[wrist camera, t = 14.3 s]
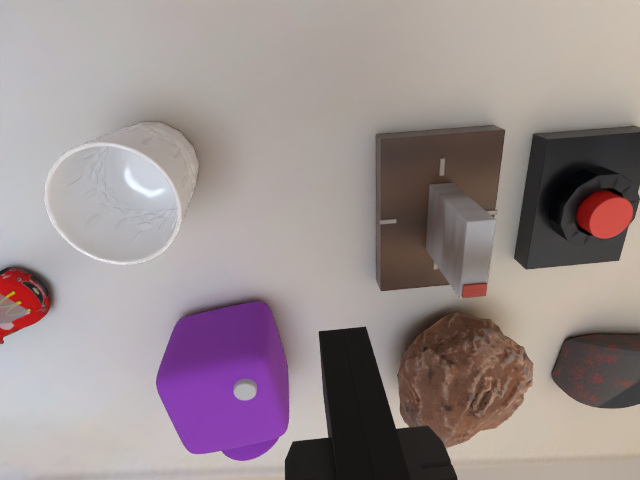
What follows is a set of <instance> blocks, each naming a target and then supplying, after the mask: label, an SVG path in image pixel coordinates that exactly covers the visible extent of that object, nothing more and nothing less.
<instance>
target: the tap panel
mask: <svg viewBox="0 0 640 480" xmlns="http://www.w3.org/2000/svg"><path fill="white" fill-rule="evenodd" d="M504 135H505V130H504V129H502V128H499V127H497V126H494V125H491V126H478V127H465V128H452V129H439V130H426V131H413V132H400V133H387V134H377V135H376V280H377V283H378V285H379V288H380V290H381V291H388V290H398V289H408V288H419V287H429V286H440V285H450V284H449V282H448V281H447V280H446V278H445V277H444V275H443V274H442V272H441V271H440V269H439V268H438V266H437V265H436V263H435V262H434V260H433V259H432V258H431V256H430V255H429V253H428V252H427V250H426V234H427V218H428V202H429V186H430V184H443V183H454V184H455V185H456V186H457V187H458V188H459V189H461V190H462V191H463V192H464V193H465V194H466V195H468V196H469V197H470V198H471V199H472V200H474V201H475V202H476V203H477V204H478V205H479V206H481V207H482V208H483V209H484V210H485V211H487V212H488V213H489V214H490V215H491V216H492V217H494V215H495V214H497V210H495V207H496V199H497V191H498V183H499V175H500V167H501V159H502V151H503V143H504Z"/></svg>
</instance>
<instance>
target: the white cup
mask: <svg viewBox="0 0 640 480" xmlns="http://www.w3.org/2000/svg"><path fill="white" fill-rule="evenodd" d="M198 168H199V163H198V160H197V157H196V154H195V150H194V147H193V146H192V145H191V144H190V142H189V141H188V140H187V139H186V138H185V137H184V136H183V134H182V133H181V132H180V131H178V130H176V129H174V128H171V127H169V126H167V125H165V124H163V123H159V122H140V123H138V124H135V125H133V126H129V127H124V128H121V129H118V130H116V131H113V132H110V133H107V134H104V135H102V136H100V137H98V138H96V139H93V140H91V141H89V142H86V143H84V144H81V145H79V146H77V147H74V148H72V149H70V150H69V151H67V152H65V153H64V154H63V155H61V156H60V157H59V158H58V159H57V160H56V161H55V163H54V164H53V165H52V167H51V169H50V170H49V172H48V175H47V177H46V181H45V186H44V201H45V207H46V210H47V213H48V216H49V218H50V220H51V222H52V224H53V226H54V227H55V229H56V230H57V231H58V233H59V234H60V235H61V236H62V237H63V238H64V240H66V241H67V242H68V243H69V244H70V245H71V246H72V247H74V248H75V249H76V250H78V251H79V252H81V253H83V254H85V255H86V256H89V257H91V258H93V259H96V260H98V261H102V262H105V263H110V264H118V265H130V264H137V263H142V262H145V261H148V260H150V259H153V258H155V257H156V256H158V255H160V254H161V253H162V252H164V251H165V250H166V249H167V248H168V247H169V246H170V245H171V243H172V242H173V241H174V239H175V237H176V235H177V233H178V231H179V228H180V226H181V223H182V221H183V218H184V216H185V213H186V211H187V209H188V206H189V204H190V201H191V198H192V195H193V192H194V188H195V184H196V181H197V175H198Z"/></svg>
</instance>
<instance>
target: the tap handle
mask: <svg viewBox="0 0 640 480" xmlns="http://www.w3.org/2000/svg"><path fill="white" fill-rule="evenodd" d="M495 225H496V219H495V218H494V217H492V216H491V215H490V214H489V213H488V212H487V211H485V210H484V209H483V208H482V207H481V206H479V205H478V204H477V203H476V202H475V201H474V200H472V199H471V198H470V197H469V196H468V195H466V194H465V193H464V192H463V191H462V190H461V189H459V188H458V187H457V186H456V185H455V184H454V183H443V184H430V186H429V202H428V218H427V234H426V250H427V252H428V253H429V255H430V256H431V258H432V259H433V260H434V262H435V263H436V265H437V266H438V268H439V269H440V271H441V272H442V274H443V275H444V277H445V278H446V280H447V281H448V282H449V284H450V285H451V287H452V288H453V290H454V291H455V293H456V294H457V296H458V297H459V298H468V297H479V296H486V291H487V283H488V276H489V269H490V261H491V254H492V247H493V239H494V232H495Z"/></svg>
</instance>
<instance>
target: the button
mask: <svg viewBox="0 0 640 480" xmlns="http://www.w3.org/2000/svg"><path fill="white" fill-rule="evenodd" d="M632 216H633V207H632V205H631V203H630V202H629V201H628V200H627V199H625V198H623V197H621V196H619V195H617V194H615V193H612V192H610V191H597V192H595V193H592V194H591V195H589V196H588V197H586V198H585V199H584V200H583V201H582V203H581V204H580V206H579V207H578V210H577V214H576V218H577V222H578V224H579V226H580V227H581V228H583V229H584V230H586V231H587V232H589V233H591V234H592V235H594V236H595V237H598V238H611V237H614V236H616V235H618V234H619V233H621V232H622V231H623V230H624V229H625V228H626V227H627V226H628V225H629V223H630V221H631V219H632Z"/></svg>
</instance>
